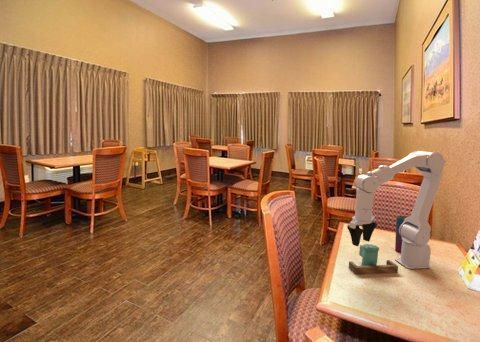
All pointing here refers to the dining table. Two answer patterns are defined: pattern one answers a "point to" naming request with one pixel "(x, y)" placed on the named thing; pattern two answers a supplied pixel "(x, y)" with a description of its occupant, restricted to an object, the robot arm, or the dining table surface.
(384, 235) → the dining table surface
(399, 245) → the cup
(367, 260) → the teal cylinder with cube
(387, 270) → the dock
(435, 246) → the dining table surface
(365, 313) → the dining table surface
